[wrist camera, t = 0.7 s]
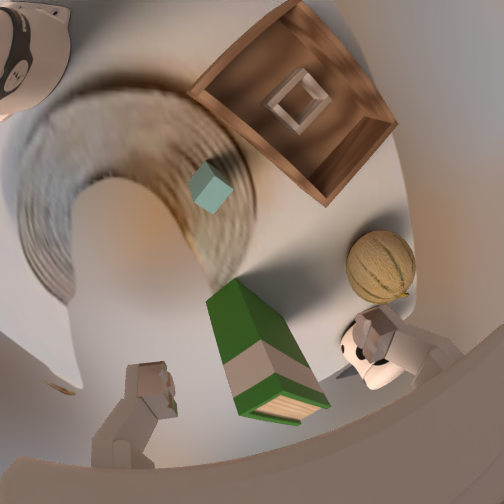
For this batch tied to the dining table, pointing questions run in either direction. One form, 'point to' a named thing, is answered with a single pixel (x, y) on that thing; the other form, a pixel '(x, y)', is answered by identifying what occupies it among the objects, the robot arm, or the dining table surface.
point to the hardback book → (262, 359)
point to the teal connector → (209, 187)
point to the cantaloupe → (381, 267)
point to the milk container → (370, 373)
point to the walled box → (298, 100)
